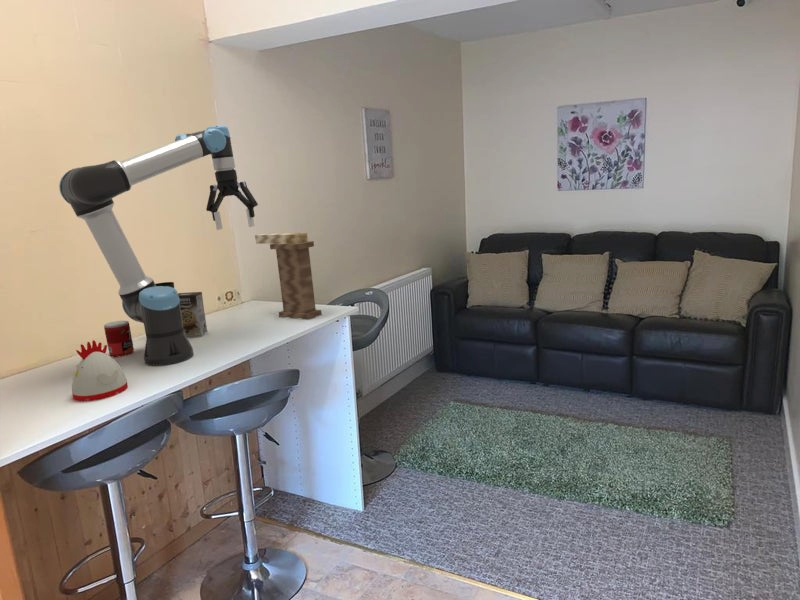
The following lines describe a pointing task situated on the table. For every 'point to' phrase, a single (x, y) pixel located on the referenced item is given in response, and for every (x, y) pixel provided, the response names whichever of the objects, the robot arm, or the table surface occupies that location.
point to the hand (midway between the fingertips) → (235, 228)
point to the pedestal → (296, 280)
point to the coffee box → (193, 314)
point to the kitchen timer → (97, 375)
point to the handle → (281, 238)
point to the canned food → (119, 338)
